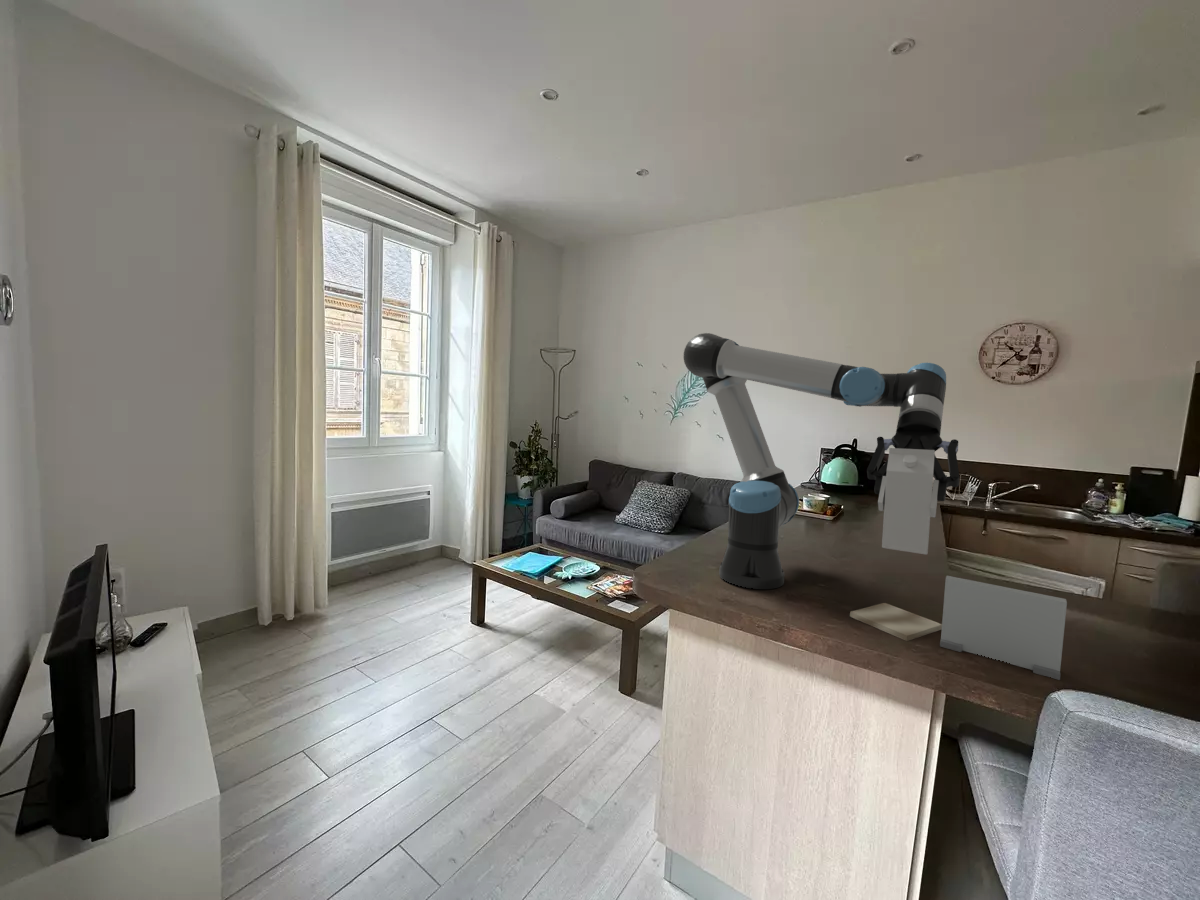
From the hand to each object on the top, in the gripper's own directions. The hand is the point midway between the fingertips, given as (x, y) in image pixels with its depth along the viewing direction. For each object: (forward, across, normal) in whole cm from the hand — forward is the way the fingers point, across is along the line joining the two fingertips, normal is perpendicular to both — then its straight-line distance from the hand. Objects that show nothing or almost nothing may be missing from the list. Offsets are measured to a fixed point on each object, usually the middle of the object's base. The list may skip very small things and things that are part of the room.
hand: (905, 509), depth 85 cm
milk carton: (+3, 0, -8) cm, 9 cm away
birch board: (+14, +1, -19) cm, 23 cm away
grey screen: (+17, -14, -16) cm, 27 cm away
